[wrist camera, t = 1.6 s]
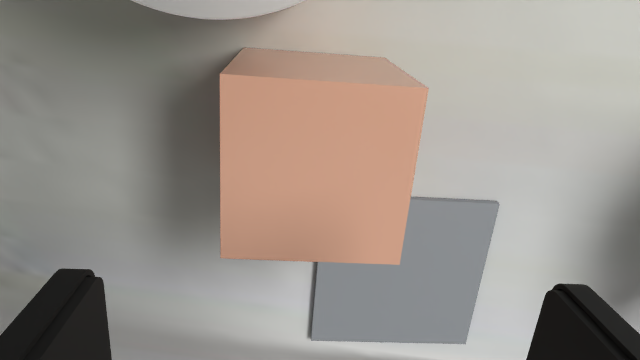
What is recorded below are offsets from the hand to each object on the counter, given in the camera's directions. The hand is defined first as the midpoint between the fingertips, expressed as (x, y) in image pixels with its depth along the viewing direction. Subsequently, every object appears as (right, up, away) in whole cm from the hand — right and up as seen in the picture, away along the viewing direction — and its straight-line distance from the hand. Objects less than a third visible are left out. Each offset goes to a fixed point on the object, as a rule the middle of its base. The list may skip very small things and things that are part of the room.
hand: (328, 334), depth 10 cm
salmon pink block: (-1, +6, +14) cm, 16 cm away
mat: (+5, -2, +18) cm, 19 cm away
